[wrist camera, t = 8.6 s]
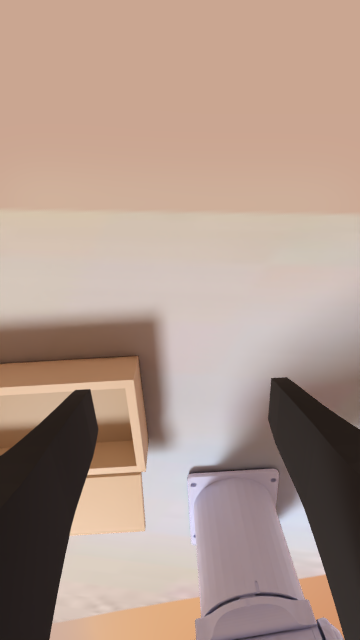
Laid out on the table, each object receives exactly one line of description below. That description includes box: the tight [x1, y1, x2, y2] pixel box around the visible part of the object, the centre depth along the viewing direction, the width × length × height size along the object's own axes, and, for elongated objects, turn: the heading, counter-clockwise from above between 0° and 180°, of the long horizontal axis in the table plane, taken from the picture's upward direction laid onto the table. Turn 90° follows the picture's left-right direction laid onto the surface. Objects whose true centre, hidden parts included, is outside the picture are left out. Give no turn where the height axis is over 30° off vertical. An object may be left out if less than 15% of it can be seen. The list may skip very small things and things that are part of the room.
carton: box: [0, 356, 148, 475], centre depth 22 cm, size 8×16×3 cm, turn 93°
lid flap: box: [69, 472, 145, 536], centre depth 23 cm, size 4×15×1 cm, turn 93°
